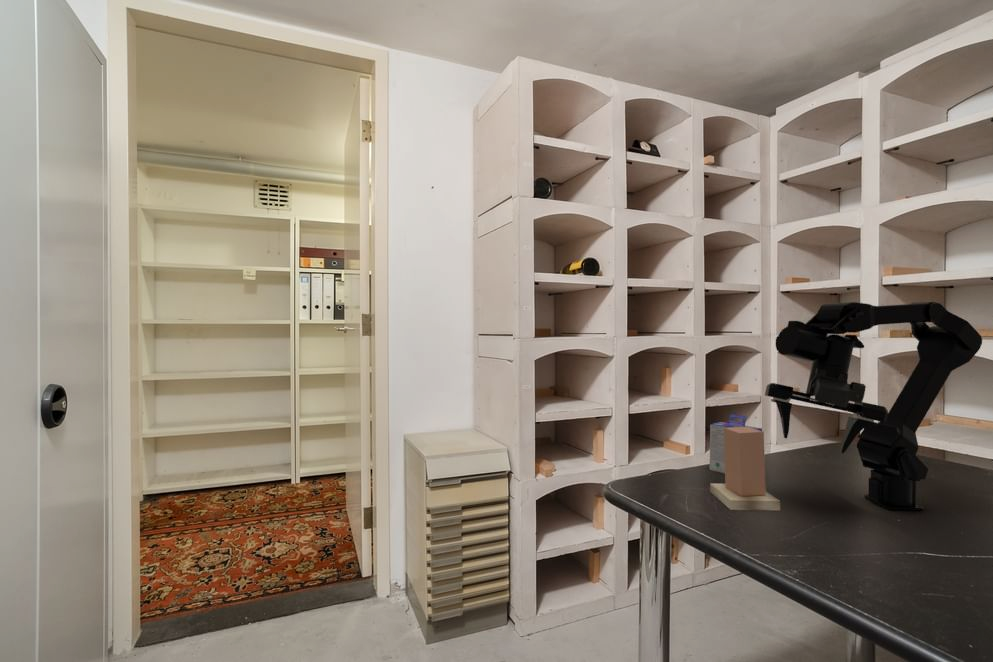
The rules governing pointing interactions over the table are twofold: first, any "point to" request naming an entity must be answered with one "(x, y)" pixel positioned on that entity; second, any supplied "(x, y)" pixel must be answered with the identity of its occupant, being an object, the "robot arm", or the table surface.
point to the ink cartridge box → (722, 441)
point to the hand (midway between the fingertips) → (813, 445)
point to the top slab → (744, 499)
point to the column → (744, 461)
